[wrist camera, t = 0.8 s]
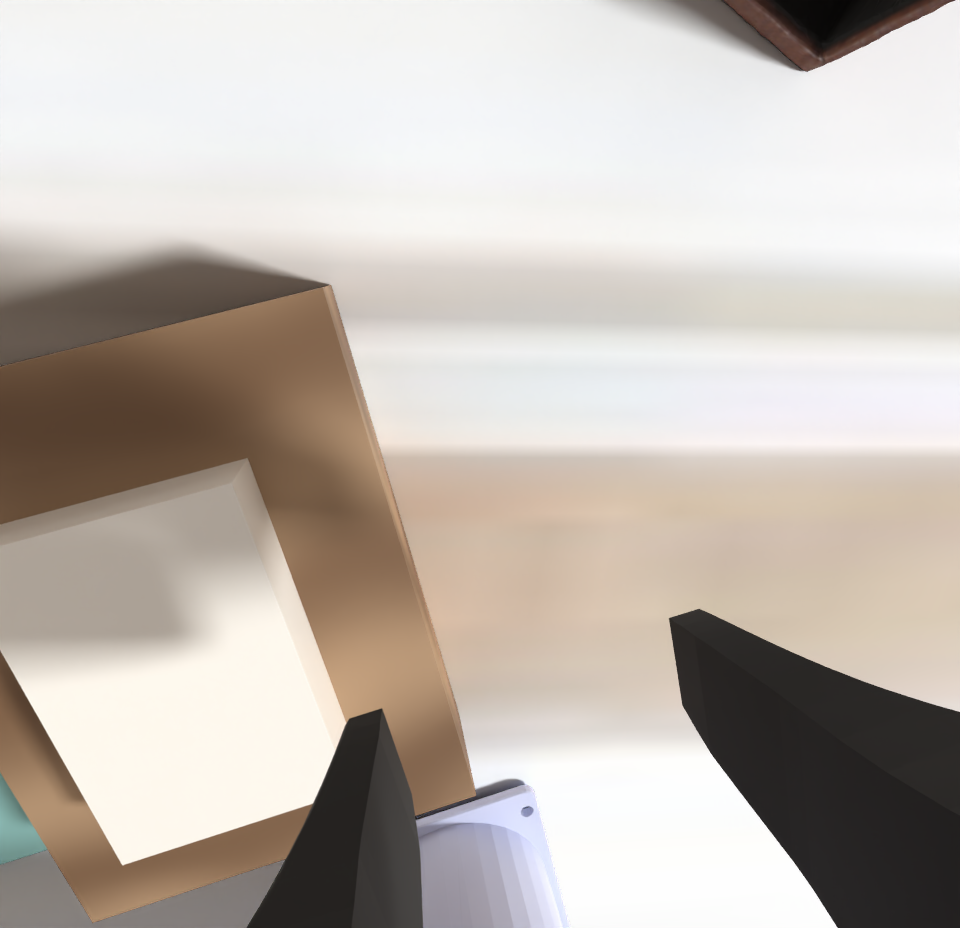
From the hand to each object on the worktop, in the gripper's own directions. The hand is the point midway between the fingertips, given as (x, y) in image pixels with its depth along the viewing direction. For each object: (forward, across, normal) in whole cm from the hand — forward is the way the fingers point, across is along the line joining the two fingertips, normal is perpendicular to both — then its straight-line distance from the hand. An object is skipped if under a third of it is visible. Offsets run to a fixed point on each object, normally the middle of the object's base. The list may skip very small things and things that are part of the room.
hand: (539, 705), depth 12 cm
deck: (+10, +8, 0) cm, 13 cm away
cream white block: (+6, +8, 0) cm, 10 cm away
